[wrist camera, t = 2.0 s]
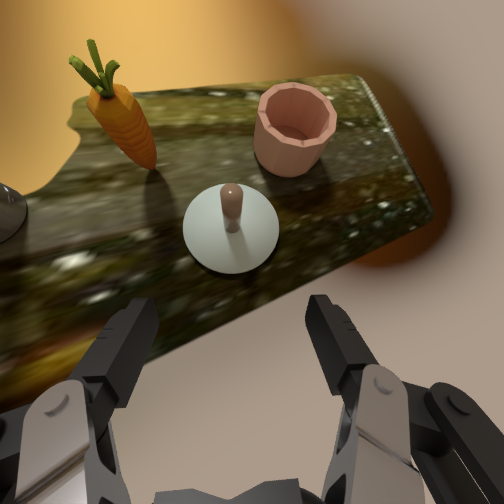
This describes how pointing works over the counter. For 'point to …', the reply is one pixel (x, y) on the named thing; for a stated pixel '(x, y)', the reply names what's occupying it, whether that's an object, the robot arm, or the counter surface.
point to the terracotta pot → (292, 128)
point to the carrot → (117, 110)
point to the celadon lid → (230, 228)
